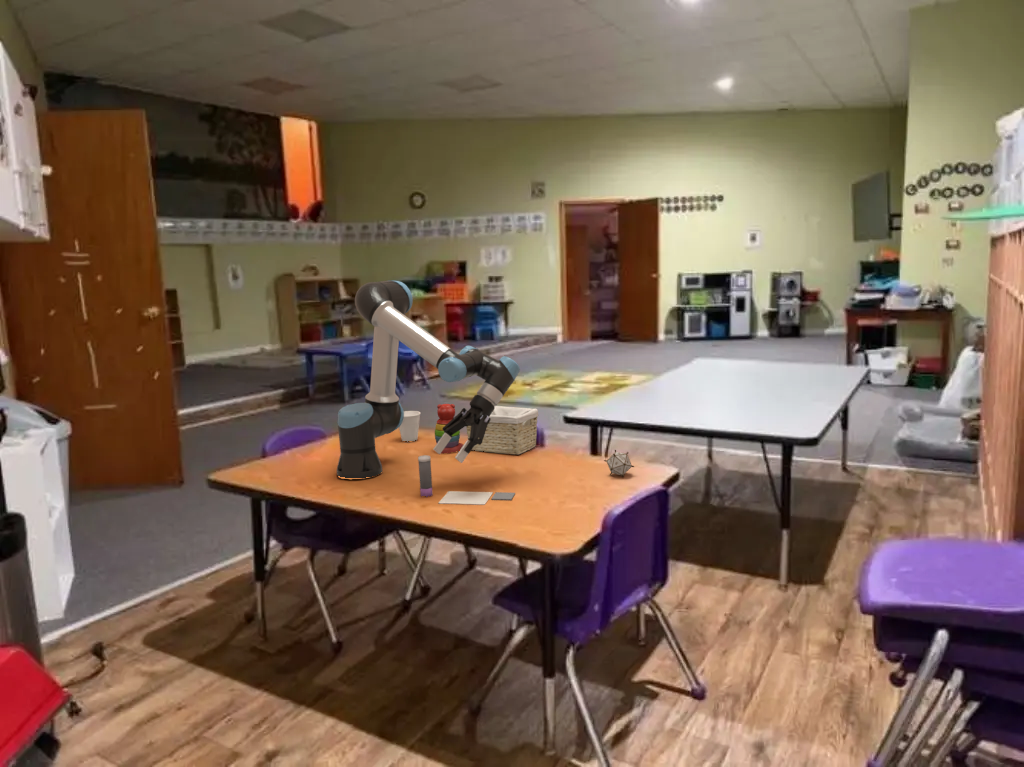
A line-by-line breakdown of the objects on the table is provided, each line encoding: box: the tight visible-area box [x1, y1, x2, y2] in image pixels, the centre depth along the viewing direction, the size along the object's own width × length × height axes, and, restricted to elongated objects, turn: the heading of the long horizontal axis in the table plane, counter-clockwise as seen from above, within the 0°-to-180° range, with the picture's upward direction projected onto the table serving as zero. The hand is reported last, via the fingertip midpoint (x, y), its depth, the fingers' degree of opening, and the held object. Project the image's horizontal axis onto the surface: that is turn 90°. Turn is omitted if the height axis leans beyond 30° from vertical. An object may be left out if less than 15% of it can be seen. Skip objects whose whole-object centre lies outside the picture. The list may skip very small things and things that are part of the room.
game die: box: [603, 449, 635, 478], centre depth 240 cm, size 9×8×10 cm
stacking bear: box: [434, 403, 464, 454], centre depth 279 cm, size 11×10×18 cm
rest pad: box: [491, 491, 516, 501], centre depth 224 cm, size 6×6×1 cm
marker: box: [417, 454, 434, 498], centre depth 228 cm, size 4×4×12 cm
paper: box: [438, 490, 494, 506], centre depth 224 cm, size 14×11×1 cm
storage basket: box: [466, 405, 539, 455], centre depth 279 cm, size 24×16×15 cm
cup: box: [398, 410, 422, 443], centre depth 297 cm, size 10×10×11 cm
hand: (447, 456), depth 230 cm, fingers open, 13 cm apart
